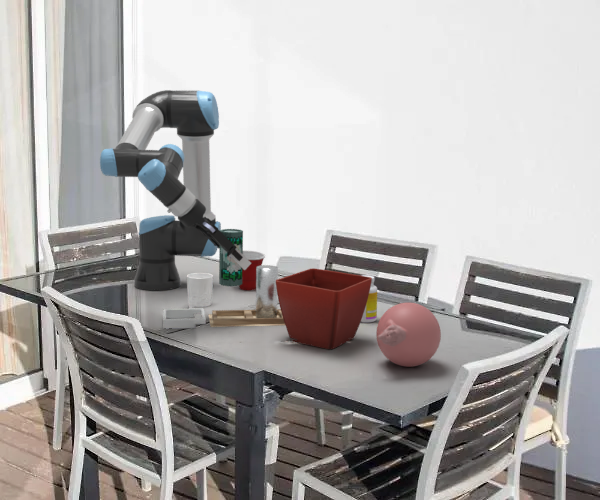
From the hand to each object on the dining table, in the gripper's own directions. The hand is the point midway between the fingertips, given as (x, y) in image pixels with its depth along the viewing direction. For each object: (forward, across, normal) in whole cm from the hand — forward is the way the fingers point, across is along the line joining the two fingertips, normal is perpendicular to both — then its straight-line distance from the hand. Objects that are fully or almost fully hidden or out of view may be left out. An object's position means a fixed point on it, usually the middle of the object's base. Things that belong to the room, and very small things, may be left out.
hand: (243, 264), depth 230 cm
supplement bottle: (+37, +9, +12) cm, 40 cm away
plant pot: (+22, +23, -2) cm, 32 cm away
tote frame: (+1, -6, -23) cm, 24 cm away
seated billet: (+16, +2, -7) cm, 17 cm away
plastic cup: (+24, -39, -1) cm, 45 cm away
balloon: (+28, +49, +4) cm, 57 cm away
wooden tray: (+13, +1, -11) cm, 17 cm away
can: (+1, 0, -7) cm, 7 cm away
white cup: (+8, -20, -17) cm, 27 cm away
